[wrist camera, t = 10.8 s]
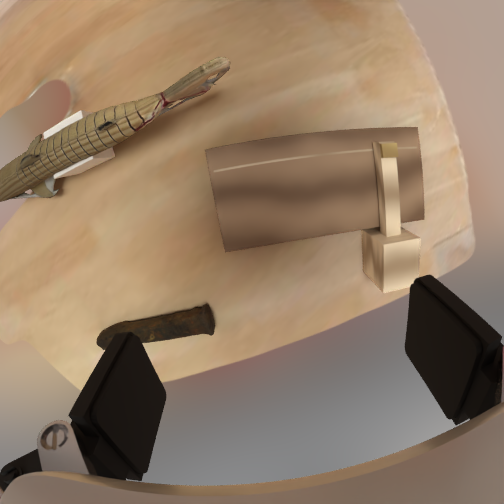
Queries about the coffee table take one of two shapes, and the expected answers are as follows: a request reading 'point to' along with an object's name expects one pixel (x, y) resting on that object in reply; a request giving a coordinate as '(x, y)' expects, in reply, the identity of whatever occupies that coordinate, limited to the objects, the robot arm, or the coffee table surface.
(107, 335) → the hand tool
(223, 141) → the coffee table surface
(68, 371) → the coffee table surface
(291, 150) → the board
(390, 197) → the beige block with stick
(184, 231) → the coffee table surface
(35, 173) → the wood carving
